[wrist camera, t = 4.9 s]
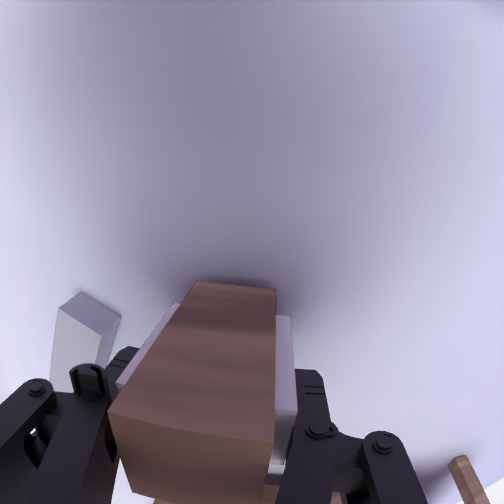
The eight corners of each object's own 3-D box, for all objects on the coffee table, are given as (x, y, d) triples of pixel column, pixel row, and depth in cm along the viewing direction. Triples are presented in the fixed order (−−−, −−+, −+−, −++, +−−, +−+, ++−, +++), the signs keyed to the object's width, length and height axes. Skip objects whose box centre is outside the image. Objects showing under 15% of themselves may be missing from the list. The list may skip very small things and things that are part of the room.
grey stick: (83, 290, 19) (58, 307, 16) (123, 314, 19) (101, 336, 16) (63, 411, 22) (47, 430, 19) (91, 429, 22) (78, 450, 19)
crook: (197, 280, 16) (106, 411, 6) (411, 300, 15) (515, 417, 6) (199, 493, 21) (177, 585, 11) (330, 501, 20) (339, 592, 11)
